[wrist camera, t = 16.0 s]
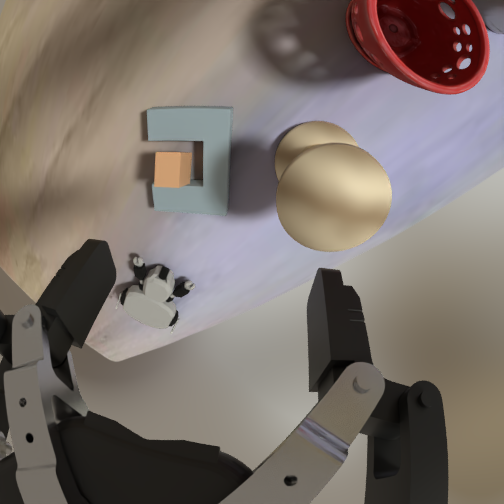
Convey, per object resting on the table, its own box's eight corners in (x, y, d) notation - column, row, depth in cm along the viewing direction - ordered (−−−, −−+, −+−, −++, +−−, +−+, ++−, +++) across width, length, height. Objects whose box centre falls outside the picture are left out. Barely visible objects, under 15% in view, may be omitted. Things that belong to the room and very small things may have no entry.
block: (169, 152, 33) (155, 152, 28) (191, 152, 33) (180, 152, 28) (168, 182, 34) (154, 186, 29) (190, 183, 34) (178, 187, 29)
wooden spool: (279, 114, 29) (284, 136, 20) (367, 130, 29) (405, 159, 20) (270, 196, 36) (269, 246, 27) (349, 206, 36) (371, 256, 27)
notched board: (153, 107, 29) (146, 109, 27) (233, 106, 29) (230, 109, 27) (159, 203, 37) (154, 210, 36) (228, 208, 37) (226, 215, 36)
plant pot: (332, -22, 17) (361, -58, 8) (430, 5, 16) (488, -4, 7) (333, 72, 25) (367, 75, 16) (429, 92, 24) (488, 112, 15)
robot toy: (138, 243, 44) (121, 297, 51) (128, 259, 40) (113, 313, 47) (202, 274, 47) (174, 321, 54) (198, 291, 43) (170, 338, 51)
